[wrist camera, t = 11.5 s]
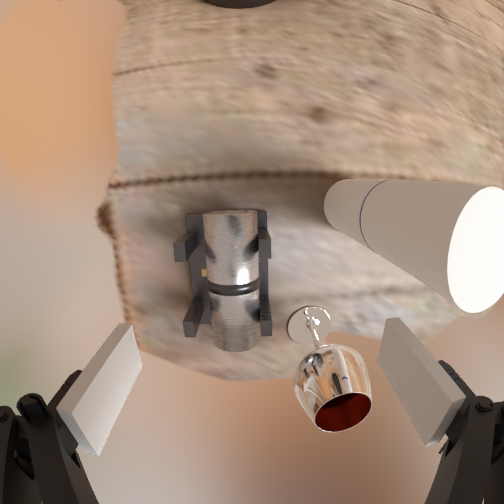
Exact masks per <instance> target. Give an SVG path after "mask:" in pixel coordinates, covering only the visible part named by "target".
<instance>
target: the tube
mask: <svg viewBox="0 0 504 504" xmlns="http://www.w3.org/2000/svg"><path fill="white" fill-rule="evenodd" d="M203 225H204V241H205V255H206V268H207V289H208V291H209V302H210V312H211V322H212V331H213V340H214V344H215V345H216V346H217V347H218V348H220V349H222V350H224V351H229V352H242V351H246V350H250V349H252V348H254V347H255V346H257V345H258V344H259V342H260V304H259V287H260V275H259V265H258V229H257V211H254V210H222V211H213V212H207V213H204V214H203Z"/></svg>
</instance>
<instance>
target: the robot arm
mask: <svg viewBox="0 0 504 504" xmlns="http://www.w3.org/2000/svg"><path fill="white" fill-rule="evenodd" d="M205 1H207V2H209V3H211V4H214V5H218V6H222V7H228V8H251V7H258V6H262V5H266V4H269V3H271V2H274V1H276V0H205ZM377 362H378V363H379V365H380V367H381V369H382V370H383V372H384V374H385V375H386V377H387V378H388V380H389V382H390V384H391V385H392V387H393V389H394V391H395V392H396V394H397V396H398V398H399V399H400V401H401V403H402V405H403V406H404V408H405V410H406V412H407V414H408V415H409V417H410V419H411V421H412V423H413V424H414V426H415V428H416V430H417V432H418V434H419V435H420V437H421V439H422V441H423V443H424V445H425V447H427V446H430V445H432V444H435V443H438V442H440V440H441V439H442V437H443V436H444V434H445V433H446V435H447V436H448V440H447V441H446V442H445V444H444V445H443V447H442V448H441V450H440V451H439V454H440V453H441V452H442V451H443V454H442V457H441V461H440V464H439V467H438V470H437V473H436V476H435V479H434V481H433V484H432V487H431V489H430V492H429V494H428V497H427V499H426V502H425V504H482V502H483V498H484V504H504V401H503V402H495V403H493V401H492V400H491V399H489V398H488V397H485V396H477V397H476V396H475V394H474V393H473V392H472V391H471V390H470V388H469V387H468V386H467V385H466V383H465V382H464V381H463V380H462V379H460V377H459V375H458V374H457V373H456V372H455V370H454V369H453V368H452V367H451V366H450V365H449V364H447V363H445V362H444V361H442V360H440V361H437V360H436V359H435V358H434V357H433V356H432V355H431V353H430V352H429V351H428V350H427V349H426V347H424V345H423V344H422V343H421V342H420V341H419V339H418V338H417V337H416V336H415V335H414V334H413V333H412V332H411V330H410V329H409V328H408V327H407V326H406V325H405V324H404V323H403V322H402V321H401V319H400V318H399V317H398V318H389V319H386V323H385V328H384V333H383V337H382V342H381V346H380V350H379V354H378V358H377ZM141 368H142V363H141V359H140V355H139V352H138V348H137V344H136V340H135V336H134V332H133V327H132V324H118V326H117V327H116V328H115V330H114V331H113V332H112V333H111V335H110V336H109V337H108V338H107V340H106V341H105V342H104V343H103V345H102V346H101V348H100V349H99V350H98V351H97V353H96V354H95V355H94V357H93V358H92V359H91V360H90V362H89V363H88V365H87V366H86V367H85V369H84V370H83V371H81V370H77V371H75V372H74V373H73V374H71V375H70V376H69V377H68V379H67V380H66V381H65V384H63V385H62V386H61V388H60V390H58V392H57V393H56V394H55V396H54V397H53V398H52V400H51V401H50V403H49V404H48V405H46V403H45V402H44V400H43V398H42V396H40V395H39V394H36V393H30V394H27V395H24V396H23V397H21V398H20V399H19V401H18V402H17V406H16V407H17V409H18V411H19V412H20V414H21V415H22V416H19V415H15V413H14V412H13V410H12V409H11V408H10V407H8V406H0V504H42V503H43V504H99V503H98V501H97V499H96V496H95V494H94V492H93V490H92V488H91V486H90V483H89V481H88V478H87V476H86V473H85V471H84V468H83V466H82V463H81V461H80V458H79V455H78V453H77V451H76V448H77V446H78V444H79V446H80V447H81V449H82V450H83V451H84V452H85V453H88V454H91V455H95V456H98V457H99V455H100V453H101V451H102V449H103V447H104V445H105V442H106V440H107V438H108V436H109V434H110V431H111V429H112V427H113V425H114V423H115V421H116V419H117V417H118V415H119V413H120V411H121V408H122V406H123V404H124V402H125V400H126V398H127V396H128V394H129V392H130V390H131V388H132V386H133V384H134V382H135V380H136V378H137V376H138V374H139V372H140V370H141ZM41 500H42V501H41Z"/></svg>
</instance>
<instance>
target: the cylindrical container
mask: <svg viewBox="0 0 504 504" xmlns="http://www.w3.org/2000/svg"><path fill="white" fill-rule="evenodd" d="M324 213H325V216H326V218H327V220H328V222H329V223H330V224H331V226H333V227H334V228H335V229H337V230H338V231H340V232H342V233H344V234H345V235H347V236H349V237H351V238H352V239H354V240H356V241H357V242H359V243H361V244H362V245H364V246H366V247H367V248H369V249H370V250H372V251H374V252H375V253H377V254H379V255H380V256H382V257H384V258H385V259H387V260H388V261H390V262H392V263H393V264H395V265H396V266H398V267H400V268H401V269H403V270H404V271H406V272H407V273H409V274H411V275H412V276H414V277H415V278H417V279H418V280H420V281H421V282H423V283H424V284H426V285H427V286H429V287H430V288H432V289H433V290H435V291H436V292H438V293H439V294H440V295H442V296H443V297H445V298H446V299H448V300H449V301H450V302H452V303H453V304H455V305H456V306H458V307H459V308H460V309H462V310H464V311H466V312H470V313H476V312H481V311H483V310H485V309H487V308H489V307H490V306H491V305H493V304H494V303H495V302H496V301H497V300H498V299H499V298H500V297H501V295H502V294H503V293H504V191H503V190H502V189H500V188H497V187H492V186H483V185H473V184H463V183H450V182H436V181H418V180H393V179H343V180H340V181H338V182H336V183H335V184H333V185H332V186H331V187H330V189H329V190H328V191H327V193H326V196H325V199H324Z"/></svg>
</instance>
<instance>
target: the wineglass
mask: <svg viewBox="0 0 504 504" xmlns="http://www.w3.org/2000/svg"><path fill="white" fill-rule="evenodd" d="M330 327H331V319H330V317H329V315H328V313H327V312H326V311H325V310H323V309H322V308H319V307H315V306H309V307H305V308H302V309H300V310H298V311H297V312H296V313H294V315H293V316H292V317H291V319H290V321H289V323H288V333H289V335H290V337H291V338H292V339H293V340H294V341H295V342H297V343H299V344H302V345H311V344H314V346H315V349H313V350H312V351H310V352H309V353H308V354H306V355H305V356H304V357H303V358H302V360H301V361H300V362H299V364H298V366H297V368H296V370H295V373H294V377H293V386H294V391H295V394H296V396H297V398H298V400H299V402H300V403H301V405H302V407H303V408H304V410H305V411H306V413H307V414H308V416H309V417H310V418H311V420H312V421H313V423H314V424H315V425H316V427H317V428H319V429H320V430H322V431H325V432H340V431H344V430H348V429H350V428H352V427H354V426H356V425H357V424H359V423H360V422H362V421H363V420H364V419H365V418H366V417H367V416H368V414H369V412H370V411H371V408H372V398H371V388H370V380H369V375H368V370H367V366H366V364H365V362H364V360H363V358H362V357H361V355H360V354H359V353H358V352H357V351H355V350H354V349H352V348H350V347H348V346H345V345H341V344H327V345H323V346H321V344H320V342H319V341H321V340H322V339H324V338H325V337H326V335H327V334H328V332H329V330H330Z"/></svg>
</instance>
